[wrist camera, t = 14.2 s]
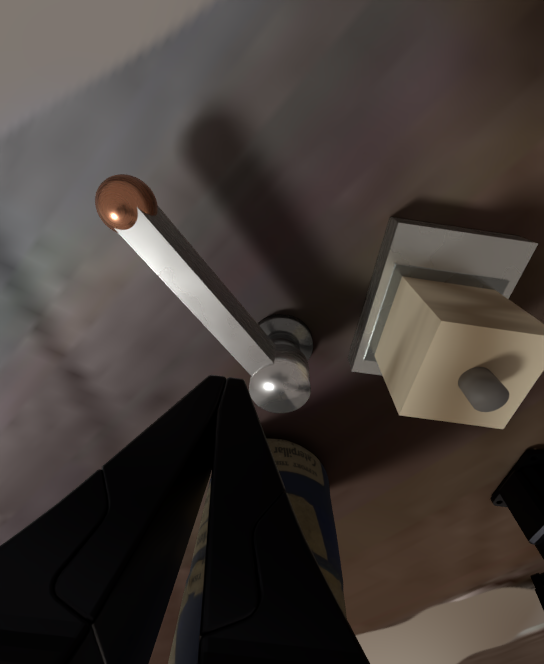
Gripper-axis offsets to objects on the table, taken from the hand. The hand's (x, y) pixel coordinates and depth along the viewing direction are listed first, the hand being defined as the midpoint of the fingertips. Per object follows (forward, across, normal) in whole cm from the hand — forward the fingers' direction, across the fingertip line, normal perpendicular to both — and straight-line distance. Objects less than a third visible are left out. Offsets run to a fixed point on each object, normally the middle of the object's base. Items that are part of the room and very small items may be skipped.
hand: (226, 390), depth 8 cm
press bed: (+12, -10, +2) cm, 16 cm away
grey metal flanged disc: (+12, -2, +6) cm, 13 cm away
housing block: (+10, -10, +2) cm, 15 cm away
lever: (+9, +2, +2) cm, 10 cm away
